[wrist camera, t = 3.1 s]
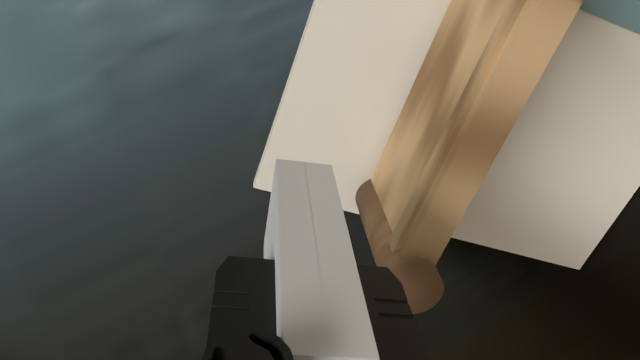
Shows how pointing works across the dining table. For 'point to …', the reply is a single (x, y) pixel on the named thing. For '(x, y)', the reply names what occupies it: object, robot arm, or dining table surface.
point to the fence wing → (454, 131)
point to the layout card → (520, 145)
